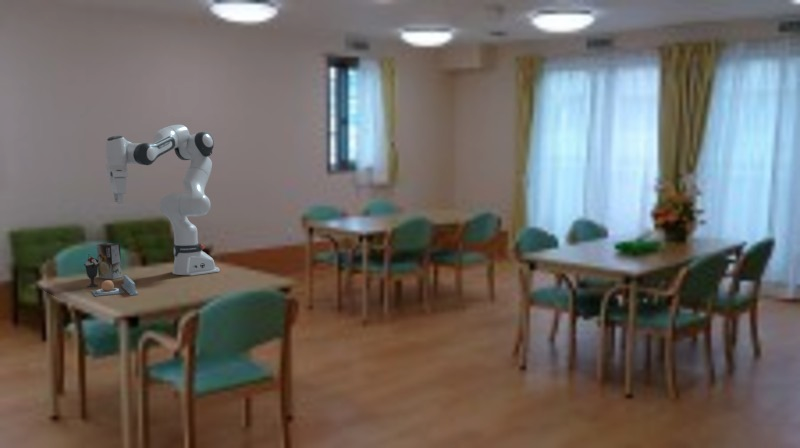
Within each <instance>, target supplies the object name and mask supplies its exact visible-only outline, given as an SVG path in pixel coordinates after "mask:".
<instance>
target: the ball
mask: <svg viewBox="0 0 800 448" xmlns="http://www.w3.org/2000/svg"><path fill="white" fill-rule="evenodd" d="M113 288H115V284H114V282H113V281H112V280H111V279H105V280H104V281H103V282H102V283H101V289H103V290H104V291H106V292H109V291H111V290H112V289H113Z"/></svg>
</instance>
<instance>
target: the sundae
mask: <svg viewBox="0 0 800 448" xmlns="http://www.w3.org/2000/svg"><path fill="white" fill-rule="evenodd" d="M98 265H99V263H98V258H94V257H93V256H91V255H90V254H88V258H87V261H86V262H85V263H84V264H83V266H84V267H85V271H86V276H87V277H88V278H89V279H90V284H88V285H87V286H86V287H87V288H97V287H99V284H95V281H94V280H95V278H96V277H97V276H98Z"/></svg>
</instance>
